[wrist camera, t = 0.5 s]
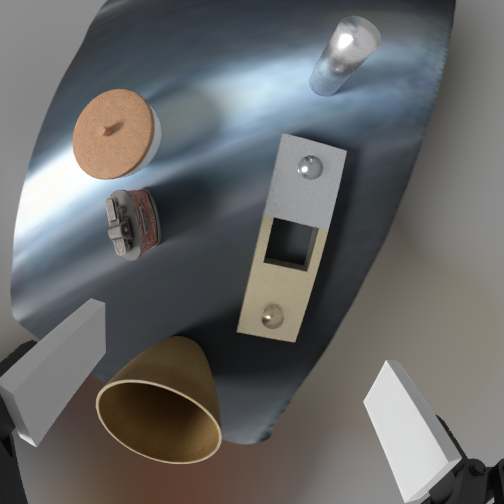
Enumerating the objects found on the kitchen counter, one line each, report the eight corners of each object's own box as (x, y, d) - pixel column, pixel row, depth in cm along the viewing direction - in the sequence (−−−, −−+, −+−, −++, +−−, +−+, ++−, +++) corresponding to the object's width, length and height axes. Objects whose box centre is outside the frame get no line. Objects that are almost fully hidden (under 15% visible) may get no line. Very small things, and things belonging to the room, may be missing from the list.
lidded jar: (144, 89, 33) (116, 66, 24) (187, 143, 35) (166, 131, 25) (90, 140, 34) (51, 132, 25) (127, 195, 36) (93, 200, 27)
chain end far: (263, 212, 36) (264, 215, 33) (322, 226, 37) (330, 231, 33) (238, 321, 40) (236, 335, 36) (292, 331, 40) (295, 346, 36)
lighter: (165, 244, 38) (137, 264, 28) (142, 248, 38) (110, 269, 28) (152, 185, 36) (119, 187, 26) (130, 191, 36) (93, 195, 26)
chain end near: (280, 137, 34) (283, 131, 30) (339, 153, 35) (349, 150, 31) (253, 254, 38) (253, 262, 34) (311, 267, 38) (318, 276, 34)
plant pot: (145, 385, 43) (113, 451, 28) (133, 309, 40) (82, 368, 24) (230, 395, 43) (222, 471, 28) (232, 317, 40) (220, 391, 24)
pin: (311, 67, 32) (341, 10, 17) (339, 75, 32) (382, 25, 17) (306, 91, 33) (336, 41, 18) (335, 100, 33) (379, 57, 18)
